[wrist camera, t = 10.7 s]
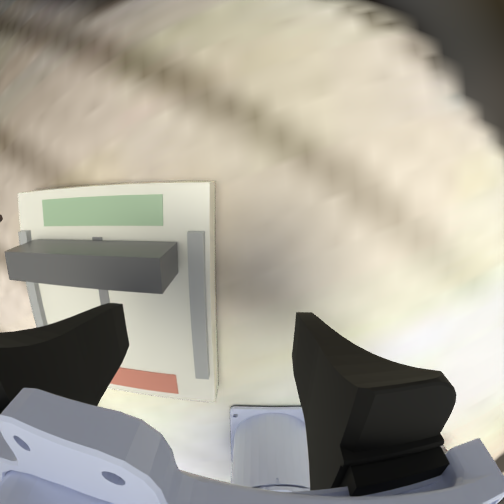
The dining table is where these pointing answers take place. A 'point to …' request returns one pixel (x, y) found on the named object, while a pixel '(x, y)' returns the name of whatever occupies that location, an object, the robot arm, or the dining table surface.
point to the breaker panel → (137, 304)
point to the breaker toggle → (96, 264)
